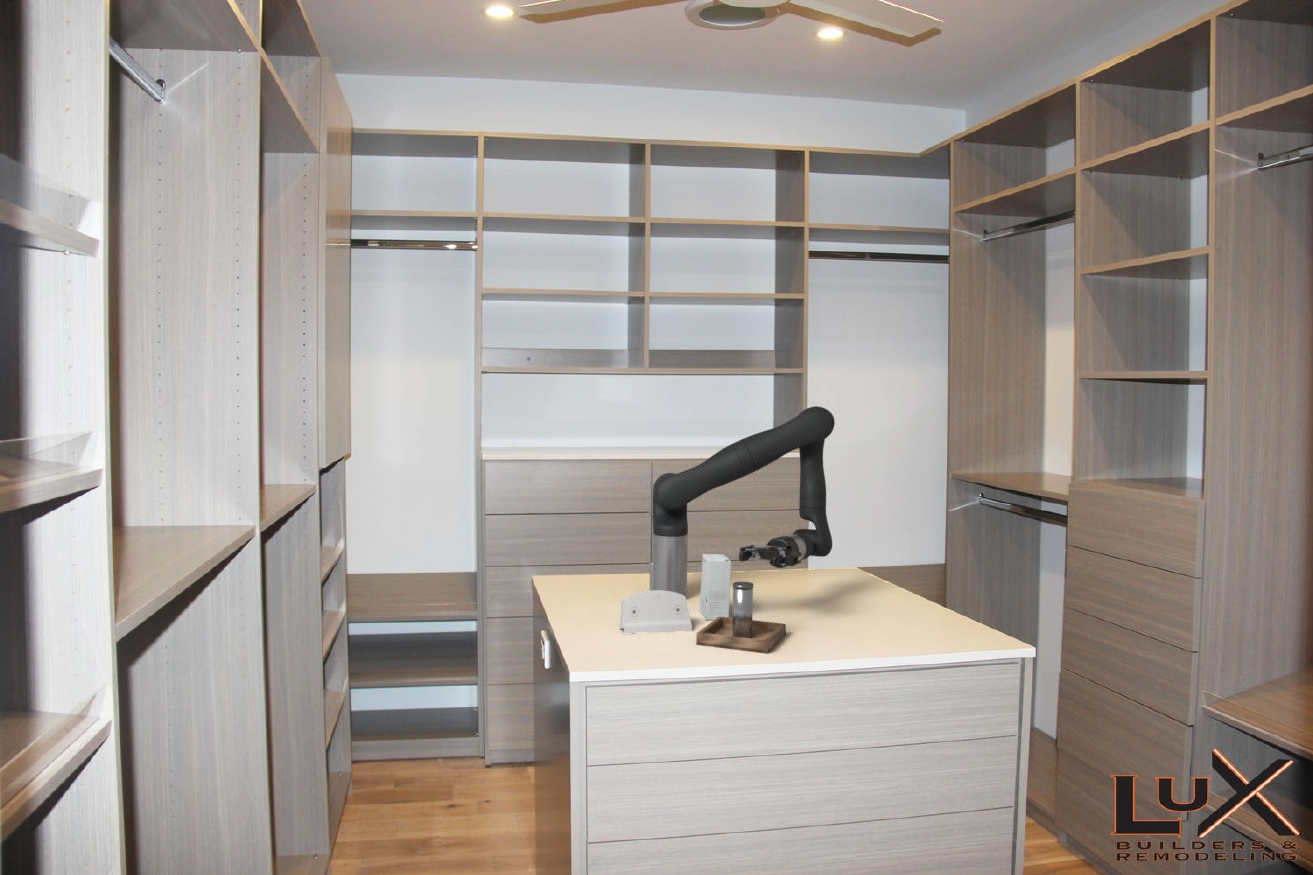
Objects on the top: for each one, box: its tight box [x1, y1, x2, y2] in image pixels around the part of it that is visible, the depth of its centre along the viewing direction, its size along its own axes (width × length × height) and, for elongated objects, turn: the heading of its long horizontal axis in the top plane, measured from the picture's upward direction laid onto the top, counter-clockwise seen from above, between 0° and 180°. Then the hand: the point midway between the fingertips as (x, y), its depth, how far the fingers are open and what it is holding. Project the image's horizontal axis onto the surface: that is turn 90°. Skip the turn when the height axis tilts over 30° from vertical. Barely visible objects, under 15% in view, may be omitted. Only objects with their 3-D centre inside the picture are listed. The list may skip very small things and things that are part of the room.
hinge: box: [619, 589, 693, 634], centre depth 211 cm, size 17×5×10 cm, turn 104°
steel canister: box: [732, 581, 754, 638], centre depth 202 cm, size 5×5×12 cm
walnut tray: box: [695, 616, 787, 654], centre depth 202 cm, size 16×16×2 cm
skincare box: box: [699, 553, 732, 621], centre depth 222 cm, size 8×6×15 cm
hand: (757, 559), depth 212 cm, fingers open, 8 cm apart
